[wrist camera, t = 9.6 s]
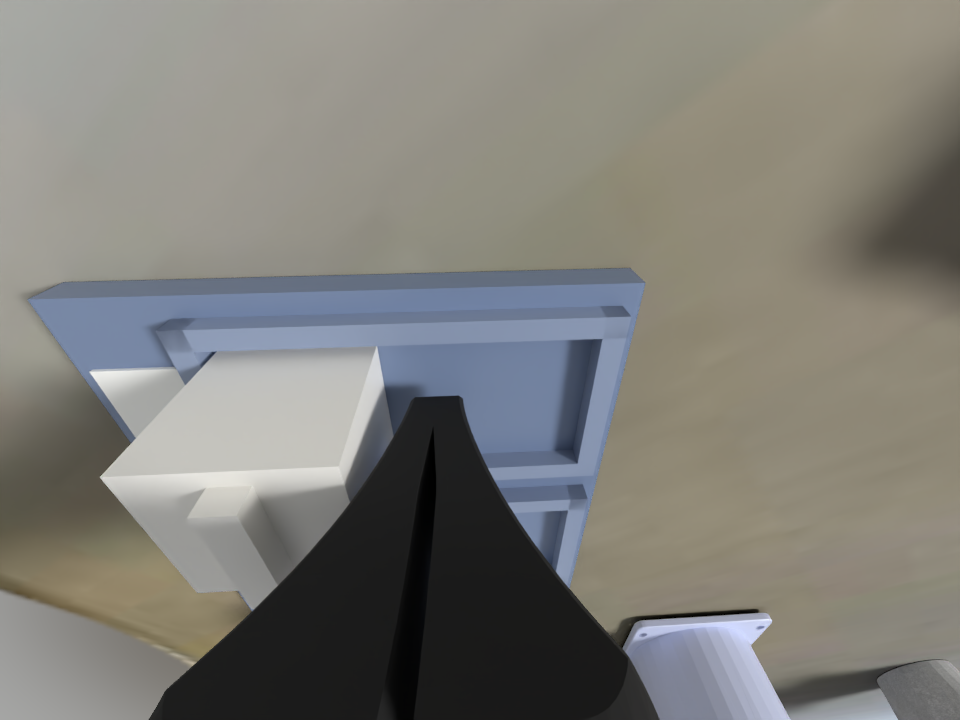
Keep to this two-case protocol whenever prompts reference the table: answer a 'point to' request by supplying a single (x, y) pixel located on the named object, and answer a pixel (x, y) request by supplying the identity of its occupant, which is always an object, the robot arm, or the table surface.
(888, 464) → the table surface
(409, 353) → the blue compartment tray
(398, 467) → the robot arm
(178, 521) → the white box
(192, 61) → the table surface
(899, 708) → the house plant
